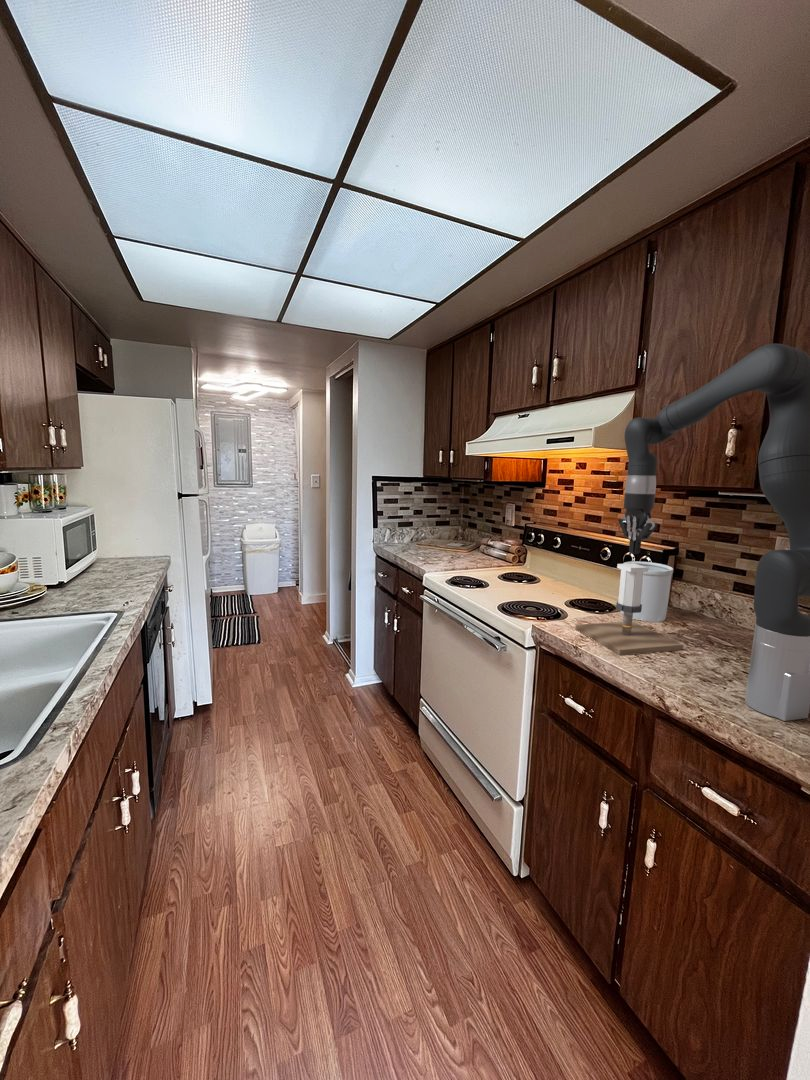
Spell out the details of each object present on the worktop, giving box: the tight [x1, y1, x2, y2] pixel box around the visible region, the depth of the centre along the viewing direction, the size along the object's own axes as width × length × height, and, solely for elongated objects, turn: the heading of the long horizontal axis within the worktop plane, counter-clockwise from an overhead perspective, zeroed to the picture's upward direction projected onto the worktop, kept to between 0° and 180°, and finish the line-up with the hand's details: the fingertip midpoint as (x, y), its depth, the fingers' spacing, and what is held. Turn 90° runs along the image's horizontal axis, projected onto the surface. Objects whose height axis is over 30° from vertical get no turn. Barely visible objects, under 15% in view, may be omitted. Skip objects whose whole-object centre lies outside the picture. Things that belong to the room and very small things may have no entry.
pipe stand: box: [574, 612, 684, 656], centre depth 129 cm, size 20×20×14 cm
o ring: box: [615, 600, 642, 613], centre depth 129 cm, size 6×6×2 cm
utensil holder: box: [620, 560, 674, 623], centre depth 151 cm, size 15×15×18 cm
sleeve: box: [616, 563, 648, 607], centre depth 128 cm, size 6×6×11 cm
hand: (634, 553), depth 126 cm, fingers closed
